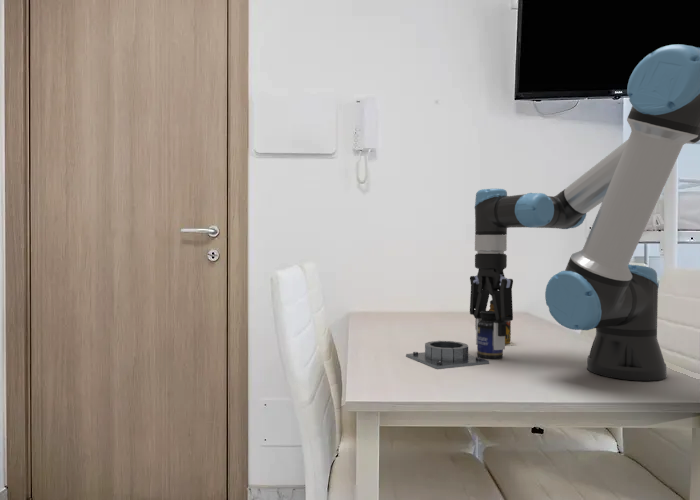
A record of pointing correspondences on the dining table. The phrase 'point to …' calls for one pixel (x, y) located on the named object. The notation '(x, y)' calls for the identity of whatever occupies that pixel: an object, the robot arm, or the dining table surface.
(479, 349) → the pill bottle
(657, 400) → the dining table surface
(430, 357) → the fitting
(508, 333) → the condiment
